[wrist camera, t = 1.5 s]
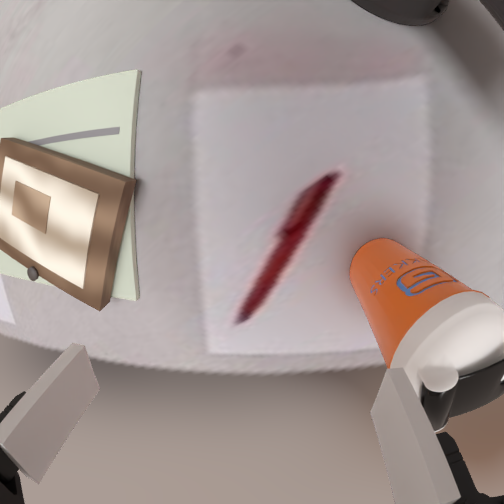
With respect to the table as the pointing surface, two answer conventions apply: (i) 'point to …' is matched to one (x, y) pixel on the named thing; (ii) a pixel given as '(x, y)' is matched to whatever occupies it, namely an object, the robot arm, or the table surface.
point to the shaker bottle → (431, 329)
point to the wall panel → (85, 147)
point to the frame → (62, 218)
